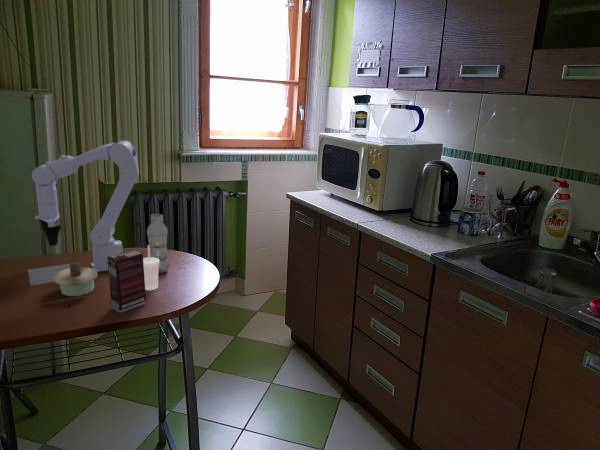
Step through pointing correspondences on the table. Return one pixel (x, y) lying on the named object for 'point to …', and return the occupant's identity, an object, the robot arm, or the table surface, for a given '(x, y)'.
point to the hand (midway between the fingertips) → (52, 241)
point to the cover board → (75, 280)
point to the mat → (45, 274)
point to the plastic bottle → (158, 241)
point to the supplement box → (126, 280)
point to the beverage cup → (151, 271)
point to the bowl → (77, 289)
